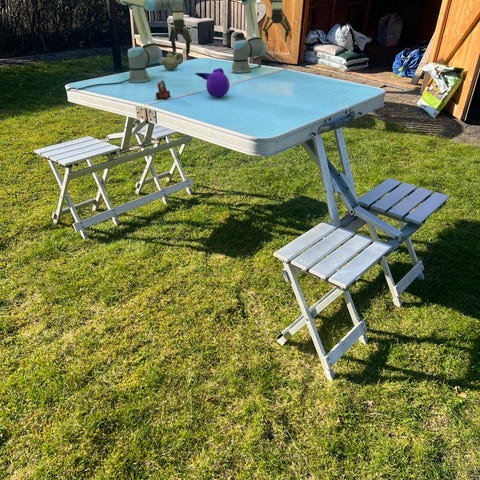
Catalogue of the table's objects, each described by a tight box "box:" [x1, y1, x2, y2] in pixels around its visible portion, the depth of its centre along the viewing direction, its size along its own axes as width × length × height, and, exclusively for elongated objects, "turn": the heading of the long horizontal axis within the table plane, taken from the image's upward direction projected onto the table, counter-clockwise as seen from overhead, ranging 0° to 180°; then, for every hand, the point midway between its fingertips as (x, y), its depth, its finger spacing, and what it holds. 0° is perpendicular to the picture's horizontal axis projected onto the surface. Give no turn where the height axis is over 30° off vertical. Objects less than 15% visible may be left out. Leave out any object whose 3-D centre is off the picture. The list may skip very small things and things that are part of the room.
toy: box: [195, 67, 230, 99], centre depth 289 cm, size 16×18×27 cm
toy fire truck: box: [155, 79, 171, 100], centre depth 288 cm, size 7×12×10 cm, turn 170°
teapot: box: [159, 50, 184, 71], centre depth 373 cm, size 21×12×15 cm, turn 120°
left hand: (181, 52), depth 316 cm, fingers open, 13 cm apart
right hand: (276, 41), depth 329 cm, fingers open, 13 cm apart
